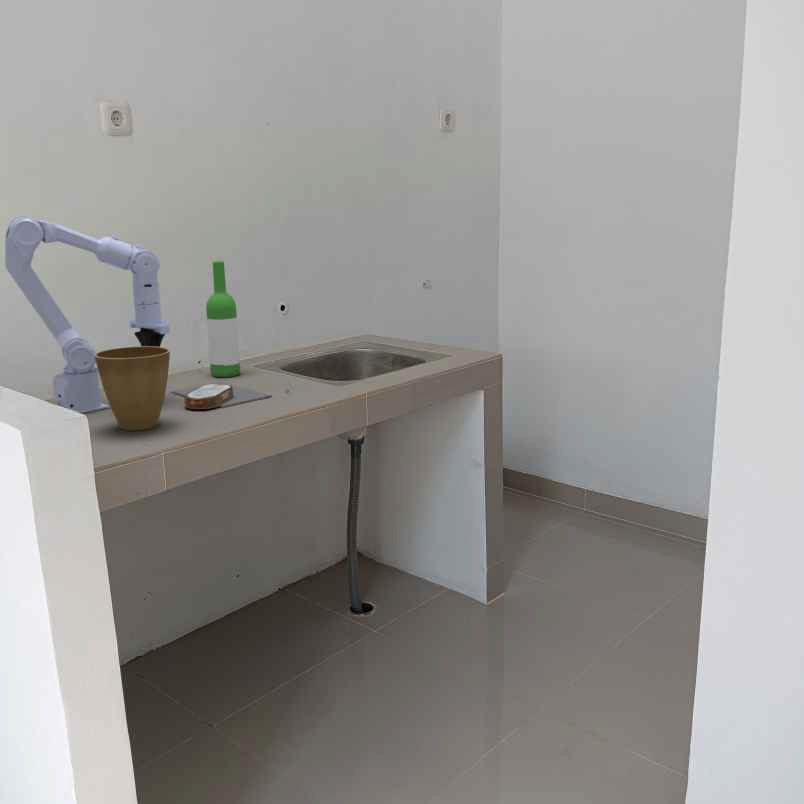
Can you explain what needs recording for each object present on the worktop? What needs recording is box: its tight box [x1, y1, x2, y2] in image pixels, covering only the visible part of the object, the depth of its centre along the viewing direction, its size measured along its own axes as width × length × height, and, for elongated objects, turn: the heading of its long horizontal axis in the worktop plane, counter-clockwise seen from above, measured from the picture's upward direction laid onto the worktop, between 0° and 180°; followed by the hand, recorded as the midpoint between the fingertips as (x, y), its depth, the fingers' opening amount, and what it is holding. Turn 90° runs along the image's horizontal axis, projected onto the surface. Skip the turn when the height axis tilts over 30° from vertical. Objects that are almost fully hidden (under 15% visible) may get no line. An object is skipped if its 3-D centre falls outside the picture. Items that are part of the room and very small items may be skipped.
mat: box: [170, 381, 273, 409], centre depth 208 cm, size 14×22×1 cm, turn 45°
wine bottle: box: [205, 260, 241, 378], centre depth 226 cm, size 8×8×30 cm
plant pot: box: [94, 345, 171, 432], centre depth 180 cm, size 15×15×16 cm
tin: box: [183, 383, 234, 410], centre depth 200 cm, size 15×3×8 cm
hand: (152, 361), depth 201 cm, fingers closed
